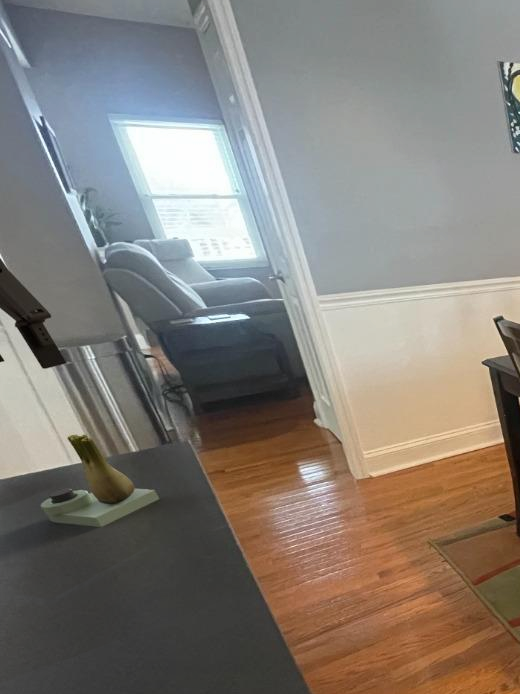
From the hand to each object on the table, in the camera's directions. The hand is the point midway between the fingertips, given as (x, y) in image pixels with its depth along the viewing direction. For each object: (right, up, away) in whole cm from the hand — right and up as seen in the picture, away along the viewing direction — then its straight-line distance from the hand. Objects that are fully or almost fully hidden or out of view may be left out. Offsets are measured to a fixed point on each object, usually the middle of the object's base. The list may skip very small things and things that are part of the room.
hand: (23, 365), depth 95 cm
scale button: (+1, -22, +5) cm, 22 cm away
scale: (+5, -24, +8) cm, 25 cm away
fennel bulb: (+8, -22, +7) cm, 24 cm away
